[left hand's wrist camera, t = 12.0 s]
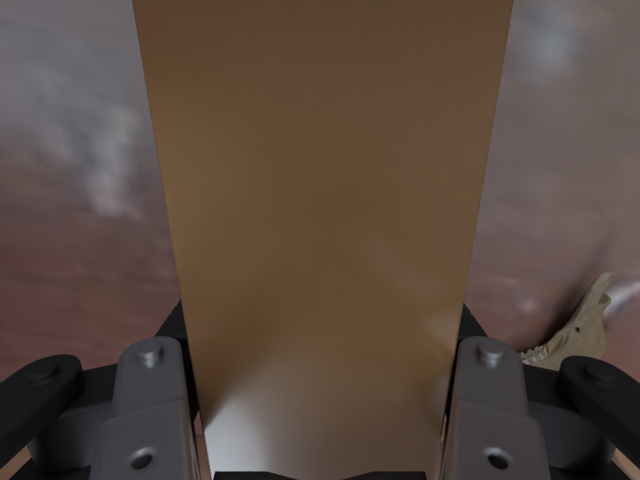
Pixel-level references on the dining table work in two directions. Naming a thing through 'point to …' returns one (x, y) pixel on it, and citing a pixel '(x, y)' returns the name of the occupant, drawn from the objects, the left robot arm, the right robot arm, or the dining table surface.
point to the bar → (322, 216)
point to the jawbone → (577, 331)
